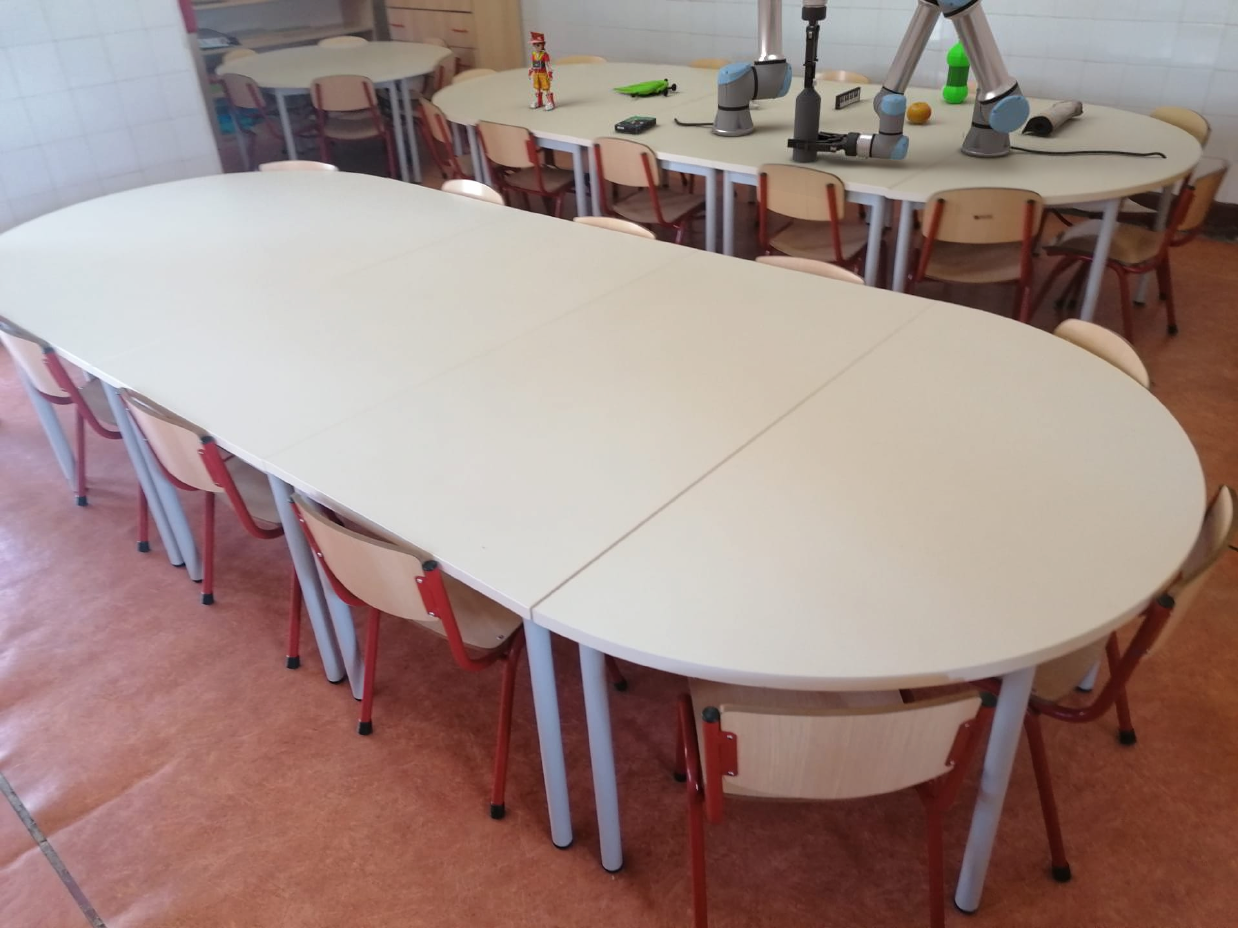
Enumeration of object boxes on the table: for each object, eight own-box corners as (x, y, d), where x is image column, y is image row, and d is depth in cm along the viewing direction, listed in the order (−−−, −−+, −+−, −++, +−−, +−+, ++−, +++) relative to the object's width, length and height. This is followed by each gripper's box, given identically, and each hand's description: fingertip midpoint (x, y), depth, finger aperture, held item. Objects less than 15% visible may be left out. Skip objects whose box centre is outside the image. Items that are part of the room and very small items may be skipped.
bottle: (819, 156, 305) (825, 79, 291) (812, 163, 299) (818, 84, 285) (796, 154, 308) (801, 77, 294) (789, 161, 302) (793, 83, 288)
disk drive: (637, 135, 339) (656, 124, 349) (637, 127, 338) (656, 117, 348) (614, 132, 344) (634, 122, 354) (613, 125, 343) (633, 115, 353)
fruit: (901, 115, 329) (915, 95, 326) (903, 118, 337) (916, 98, 334) (920, 127, 328) (935, 107, 325) (921, 130, 336) (935, 111, 333)
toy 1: (525, 109, 381) (517, 32, 364) (534, 104, 388) (527, 28, 371) (550, 110, 377) (543, 32, 360) (559, 105, 384) (553, 28, 367)
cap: (817, 84, 291) (817, 78, 290) (815, 87, 288) (815, 81, 287) (803, 83, 293) (803, 78, 292) (801, 87, 289) (801, 81, 288)
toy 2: (686, 85, 398) (631, 84, 414) (685, 72, 395) (629, 72, 411) (651, 104, 381) (596, 103, 397) (650, 92, 378) (594, 91, 394)
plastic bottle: (973, 101, 354) (984, 32, 339) (955, 106, 349) (966, 36, 335) (952, 97, 361) (962, 29, 346) (934, 102, 356) (944, 33, 342)
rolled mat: (1050, 105, 331) (1074, 88, 323) (1064, 126, 331) (1088, 109, 323) (1017, 127, 314) (1042, 110, 305) (1032, 149, 314) (1057, 132, 306)
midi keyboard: (837, 109, 354) (838, 96, 352) (834, 109, 355) (835, 95, 352) (859, 100, 365) (861, 87, 362) (857, 99, 366) (858, 86, 363)
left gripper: (805, 1, 285) (801, 79, 298) (798, 10, 271) (793, 91, 285) (829, 1, 283) (824, 79, 296) (823, 10, 269) (817, 92, 283)
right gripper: (849, 165, 288) (781, 159, 297) (866, 147, 303) (800, 142, 312) (851, 141, 283) (782, 136, 292) (868, 125, 298) (802, 120, 307)
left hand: (809, 85), depth 290 cm, fingers closed on cap, 4 cm apart
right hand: (792, 139), depth 302 cm, fingers closed on bottle, 8 cm apart
